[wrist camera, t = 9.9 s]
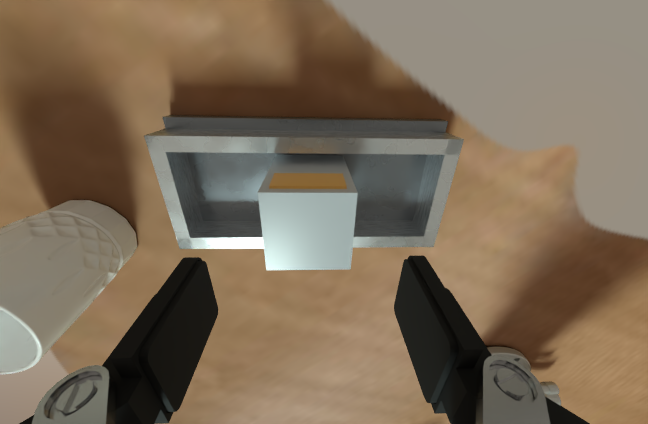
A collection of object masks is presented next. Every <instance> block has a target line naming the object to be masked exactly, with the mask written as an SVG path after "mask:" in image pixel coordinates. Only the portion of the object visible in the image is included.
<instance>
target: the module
mask: <svg viewBox="0 0 648 424" xmlns="http://www.w3.org/2000/svg"><path fill="white" fill-rule="evenodd" d="M357 195H358V192H357V190H356V187H355V185H354V182H353V180H352V177H351V175H350V172H349V170H348V167H347V165H346V162H345V160H344V157H343V155H276V156H275V158H274V160H273V162H272V164H271V166H270V168H269V170H268V172H267V174H266V176H265V178H264V180H263V182H262V185H261V187H260V189H259V191H258V201H259V209H260V218H261V227H262V235H263V244H264V253H265V261H266V270H327V269H351V259H352V248H353V237H354V227H355V216H356V205H357Z"/></svg>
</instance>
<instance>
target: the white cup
mask: <svg viewBox="0 0 648 424" xmlns="http://www.w3.org/2000/svg"><path fill="white" fill-rule="evenodd" d="M136 248H137V239H136V233H135V231H134V230H133V228H132V227H131V225H130V224H129V222H128V221H127V220H126V219H125V218H124V217H123V216H121V215H120V214H119V213H117V212H116V211H115V210H113V209H112V208H110V207H108V206H105V205H102V204H100V203H97V202H94V201H91V200H69V201H67V202H65V203H62V204H60V205H58V206H56V207H53V208H51V209H49V210H47V211H44V212H41V213H39V214H37V215H33V216H28V217H26V218H24V219H21V220H18V221H16V222H13V223H11V224H8V225H6V226H3V227H1V228H0V374H10V373H17V372H21V371H24V370H27V369H29V368H31V367H32V366H34V365H35V364H36V363H37V362H38V361H39V360H40V359H41V358H42V357H43V356H44V355H45V354H46V353H47V351H48V350H49V349H50V348H51V347H52V346H53V345H54V344H55V343H56V341H57V340H58V339H59V338H60V337H61V336H62V335H63V334H64V333H65V332H66V331H67V329H68V328H69V327H70V326H71V325H72V324H73V323H74V322H75V321H76V320H77V319H78V318H79V316H80V315H81V314H82V313H83V312H84V311H85V310H86V309H87V308H88V307H89V306H90V304H91V303H92V302H93V301H94V300H95V298H96V297H97V296H98V295H99V294H100V293H101V292H102V291H103V289H104V288H105V287H106V286H107V285H108V284H109V283H110V282H111V280H112V279H113V278H114V277H115V276H116V274H117V273H118V271H119V270H120V269H121V268H122V267H123V266H124V264H125V263H126V262H127V261H128V260H129V259H130V258H131V257H132V255H133V253H134V252H135V250H136Z"/></svg>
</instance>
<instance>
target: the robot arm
mask: <svg viewBox="0 0 648 424" xmlns="http://www.w3.org/2000/svg"><path fill="white" fill-rule="evenodd" d="M394 311H395V315H396V318H397V321H398V324H399V326H400V329H401V332H402V335H403V338H404V341H405V344H406V346H407V349H408V352H409V355H410V358H411V361H412V364H413V366H414V369H415V372H416V375H417V378H418V381H419V384H420V386H421V389H422V392H423V395H424V398H425V400H426V401H427V402H428V403H431V404H432V407H433V410H434V413H446V414H447V416H448V419H449V421H450V423H451V424H590V423H588V422H586V421H585V420H583V419H581V418H580V417H578V416H576V415H575V414H573V413H572V412H570V411H568V410H567V409H565V408H563V407H562V406H560V405H561V400H560V397H559V396H558V394H559V388H558V386H557V385H556V384H555V383H554V382H540V383H539V381H538V380H537V378H536V377H535V376H534V375H533V374H532V373H531V366H530V363H529V362H528V360H527V359H526V358H525V356H524V355H523V354H522V353H521V352H519V351H517V350H515V349H511V348H508V347H486V345H485V344H484V342H483V341H482V339H481V338H480V336H479V335H478V333H477V332H476V330H475V329H474V327H473V325H472V324H471V322H470V321H469V319H468V318H467V316H466V315H465V313H464V312H463V310H462V309H461V307H460V305H459V304H458V302H457V301H456V299H455V298H454V296H453V295H452V293H451V292H450V291H449V290H448V289H447V288H445V287H444V286H443V284H442V282H441V281H440V279H439V278H438V276H437V275H436V273H435V271H434V270H433V268H432V267H431V265H430V264H429V262H428V260H427V259H426V257H425V256H409V257H408V259H405V260H404V262H403V267H402V272H401V276H400V281H399V285H398V290H397V295H396V299H395V304H394ZM217 315H218V306H217V302H216V298H215V295H214V291H213V287H212V283H211V279H210V275H209V272H208V268H207V264H206V262H205V261H202V259H201V258H183V259H182V260H181V262H180V263H179V264H178V266H177V267H176V268H175V270H174V271H173V272H172V274H171V275H170V277H169V278H168V279H167V281H166V282H165V283H164V285H163V286H162V287H161V289H160V290H159V291H158V293H157V294H156V295H155V296H154V297H153V298H152V299H151V301H150V302H149V303H148V305H147V306H146V307H145V309H144V310H143V311H142V313H141V314H140V315H139V317H138V318H137V319H136V321H135V322H134V323H133V325H132V326H131V327H130V329H129V330H128V331H127V333H126V334H125V336H124V337H123V338H122V340H121V341H120V342H119V344H118V345H117V346H116V348H115V349H114V350H113V352H112V353H111V354H110V356H109V357H108V358H107V360H106V361H105V362H104V364H103V365H102V366H99V365H94V366H88V367H85V368H82V369H79V370H77V371H75V372H73V373H71V374H69V375H67V376H66V377H65V378H63V379H62V380H60V381H59V382H58V383H56V384H55V385H54V386H53V387H52V388H51V389H50V390H49V391H48V392H47V393H46V394H45V396H44V397H43V398H42V400H41V401H40V402H39V405H38V407H37V409H36V411H35V414H34V415H33V416H31V417H30V418H28V419H26V420H25V421H23V422H21V423H20V424H154V423H169V421H170V419H171V416H172V414H173V412H175V411H177V410H178V409H179V408H180V406H181V404H182V401H183V399H184V396H185V394H186V391H187V389H188V386H189V384H190V382H191V379H192V377H193V374H194V372H195V369H196V367H197V364H198V362H199V360H200V357H201V355H202V352H203V350H204V347H205V345H206V342H207V340H208V338H209V335H210V333H211V330H212V328H213V325H214V323H215V320H216V318H217Z"/></svg>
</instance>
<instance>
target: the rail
mask: <svg viewBox="0 0 648 424" xmlns="http://www.w3.org/2000/svg"><path fill="white" fill-rule="evenodd" d="M163 120H164V124H165V128H166V129H163V130H160V131H157V132H154V133H150V134H147V135H144V137H145V140H146V143H147V146H148V150H149V153H150V156H151V159H152V162H153V165H154V169H155V172H156V175H157V178H158V181H159V184H160V188H161V191H162V194H163V197H164V200H165V203H166V206H167V210H168V213H169V216H170V219H171V222H172V225H173V229H174V232H175V235H176V238H177V241H178V244H179V248H180V249H213V248H264V244H263V235H262V227H261V218H260V209H259V201H258V191H259V189H260V187H261V185H262V182H263V180H264V178H265V176H266V174H267V172H268V170H269V168H270V166H271V164H272V162H273V160H274V158H275V156H276V155H343V157H344V160H345V162H346V165H347V167H348V170H349V172H350V175H351V177H352V180H353V182H354V185H355V187H356V190H357V192H358V195H357V205H356V216H355V227H354V237H353V247H434V243H435V240H436V236H437V233H438V229H439V226H440V222H441V218H442V215H443V211H444V208H445V204H446V201H447V197H448V194H449V190H450V187H451V183H452V179H453V176H454V172H455V169H456V165H457V162H458V158H459V155H460V151H461V148H462V144H463V140H464V139H461V138H459V137H456V136H454V135H451V134H449V133H446V128H447V124H448V121H445V120H442V119H379V118H315V117H251V116H187V115H169V116H165V117H163Z"/></svg>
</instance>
